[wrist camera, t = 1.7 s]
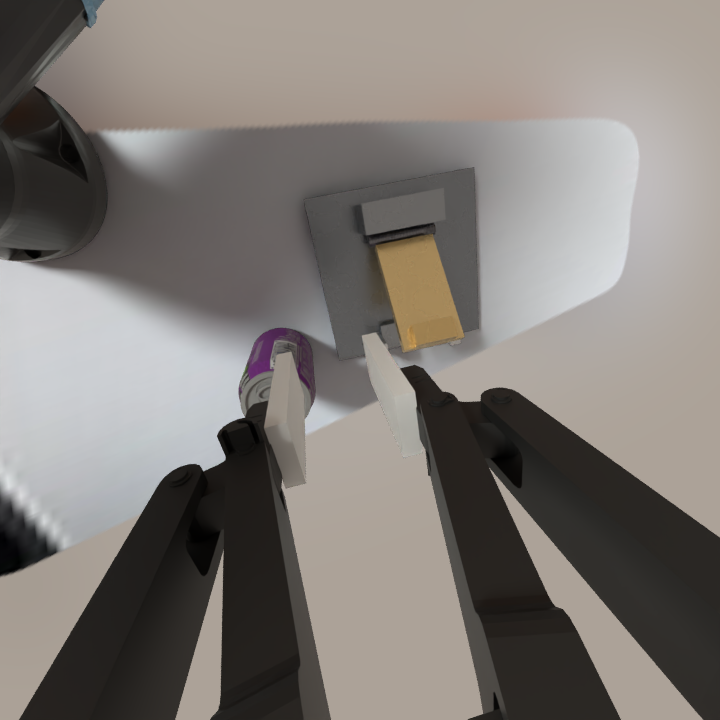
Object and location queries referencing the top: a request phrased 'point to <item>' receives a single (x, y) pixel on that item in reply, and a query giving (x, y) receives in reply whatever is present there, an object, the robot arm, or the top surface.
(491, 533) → the robot arm
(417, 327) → the tan flat panel
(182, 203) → the top surface
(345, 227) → the clamp base
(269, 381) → the beverage can
